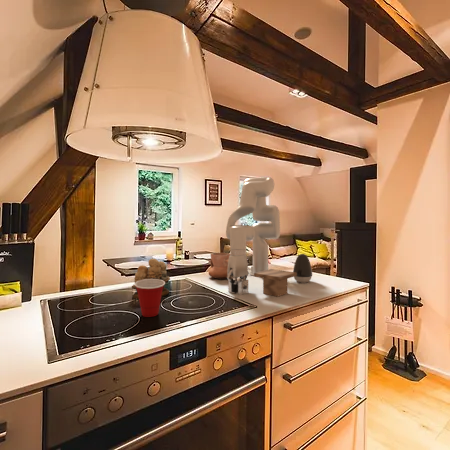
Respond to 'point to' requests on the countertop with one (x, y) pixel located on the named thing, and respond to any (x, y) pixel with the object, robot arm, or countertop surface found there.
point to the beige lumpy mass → (152, 275)
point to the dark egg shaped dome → (302, 269)
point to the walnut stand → (275, 281)
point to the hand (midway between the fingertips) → (238, 290)
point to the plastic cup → (149, 296)
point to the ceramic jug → (219, 265)
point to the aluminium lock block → (239, 286)
